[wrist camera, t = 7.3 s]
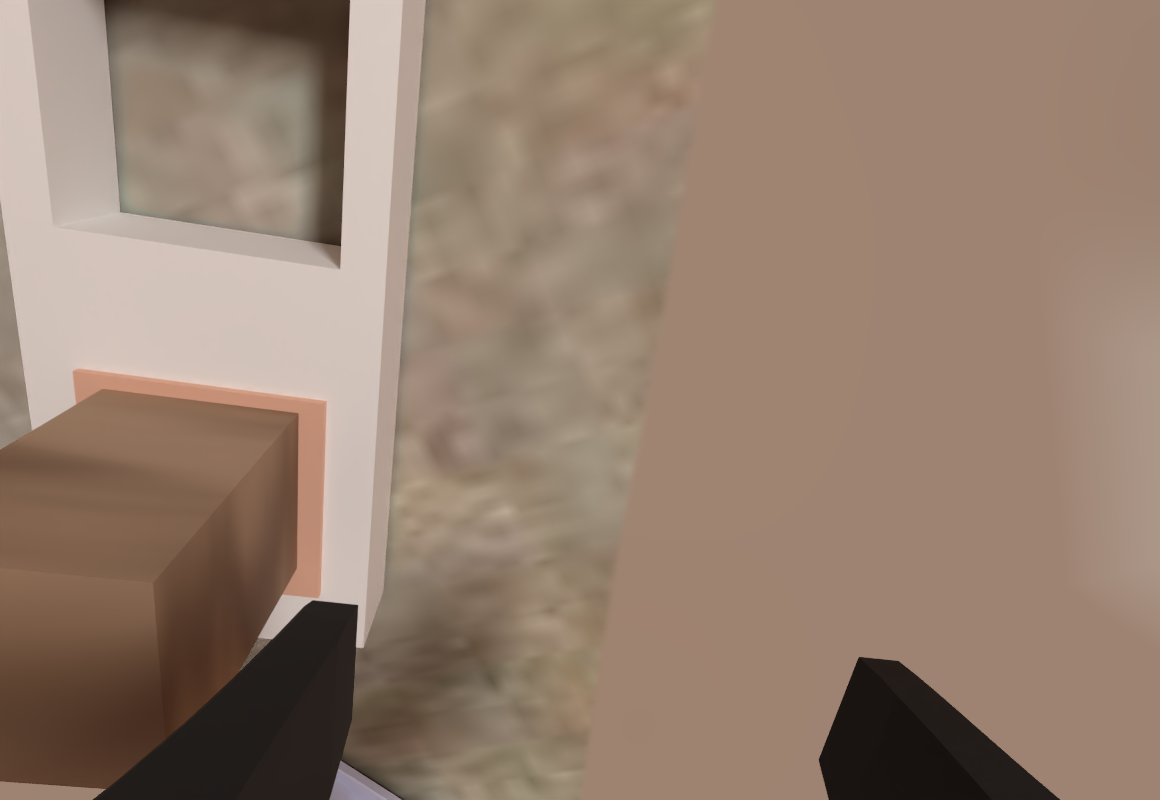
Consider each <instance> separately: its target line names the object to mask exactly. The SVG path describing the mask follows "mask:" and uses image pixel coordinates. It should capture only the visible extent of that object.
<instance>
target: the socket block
mask: <svg viewBox="0 0 1160 800" xmlns="http://www.w3.org/2000/svg"><path fill="white" fill-rule="evenodd" d="M425 3H426V0H350V20H349V47H348V74H347V101H346V128H345V156H344V183H343V210H342V237H341V246H337V245H330V244H324V243H317V242H311V241H304V240H298V239H291V238H284V237H278V236H271V235H265V234H258V233H252V232H245V231H239V230H232V229H226V228H219V227H213V226H206V225H200V224H193V223H187V222H180V221H174V220H167V219H161V218H154V217H147V216H141V215H134V214H128V213H121V212H120V202H119V189H118V176H117V163H116V150H115V137H114V124H113V111H112V98H111V85H110V72H109V59H108V46H107V33H106V20H105V7H104V0H0V201H1V208H2V215H3V223H4V230H5V237H6V244H7V252H8V259H9V266H10V273H11V281H12V288H13V295H14V302H15V310H16V317H17V324H18V332H19V339H20V346H21V353H22V361H23V368H24V375H25V382H26V390H27V397H28V404H29V411H30V419H31V426H32V431H33V430H34V429H36V428H38V427H39V426H41V425H43V424H44V423H46V422H48V421H49V420H51V419H53V418H54V417H56V416H58V415H59V414H61V413H63V412H64V411H66V410H68V409H69V408H71V407H73V406H74V405H76V404H78V403H79V402H81V401H83V400H84V399H86V398H88V397H89V396H91V395H93V394H94V393H96V392H98V391H99V390H101V389H108V390H116V391H124V392H132V393H140V394H148V395H156V396H164V397H173V398H181V399H189V400H197V401H205V402H213V403H221V404H229V405H237V406H245V407H253V408H261V409H269V410H277V411H285V412H293V413H299V425H298V526H297V569H296V571H295V573H294V574H293V576H292V578H291V580H290V582H289V583H288V585H287V587H286V589H285V590H284V592H283V594H282V596H281V598H280V599H279V601H278V603H277V605H276V606H275V608H274V610H273V612H272V613H271V615H270V617H269V619H268V621H267V622H266V624H265V626H264V628H263V629H262V631H261V633H260V635H259V637H258V638H265V639H273V638H274V637H275V636H276V635H277V634H278V633H279V632H280V631H281V630H282V629H283V628H284V627H285V626H286V625H287V624H288V623H289V622H290V621H291V619H292V618H293V617H294V616H295V615H296V614H297V613H298V612H299V611H300V610H301V609H302V608H303V607H304V606H305V605H307V604H308V603H310V602H311V601H312V600H315V601H325V602H335V603H344V604H354V605H358V620H357V637H356V647H357V648H364V645H365V642H366V639H367V636H368V633H369V631H370V628H371V625H372V622H373V619H374V616H375V614H376V611H377V608H378V605H379V602H380V599H381V597H382V594H383V588H384V574H385V560H386V546H387V532H388V519H389V505H390V491H391V477H392V463H393V449H394V435H395V421H396V407H397V393H398V379H399V365H400V351H401V337H402V323H403V309H404V295H405V281H406V267H407V254H408V240H409V226H410V212H411V198H412V184H413V170H414V156H415V142H416V128H417V114H418V100H419V86H420V72H421V58H422V44H423V30H424V16H425Z"/></svg>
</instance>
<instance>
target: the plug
mask: <svg viewBox="0 0 1160 800" xmlns="http://www.w3.org/2000/svg"><path fill="white" fill-rule="evenodd" d="M298 425H299V413H293V412H285V411H277V410H269V409H261V408H253V407H245V406H237V405H229V404H221V403H213V402H205V401H197V400H189V399H181V398H173V397H164V396H156V395H148V394H140V393H132V392H124V391H116V390H108V389H101V390H99V391H98V392H96V393H94V394H93V395H91V396H89V397H88V398H86V399H84V400H83V401H81V402H79V403H78V404H76V405H74V406H73V407H71V408H69V409H68V410H66V411H64V412H63V413H61V414H59V415H58V416H56V417H54V418H53V419H51V420H49V421H48V422H46V423H44V424H43V425H41V426H39V427H38V428H36V429H34V430H33V431H31V432H29V433H28V434H26V435H24V436H23V437H21V438H19V439H18V440H16V441H14V442H13V443H11V444H9V445H8V446H6V447H4V448H3V449H1V450H0V781H6V782H18V783H32V784H33V783H34V784H46V785H47V784H48V785H60V786H74V787H88V788H102V789H107V788H108V787H109V786H111V785H112V784H113V783H114V782H116V781H117V780H118V779H119V778H121V777H122V776H123V775H124V774H125V773H126V772H128V771H129V770H130V769H131V768H132V767H133V766H135V765H136V764H137V763H138V762H139V761H141V760H142V759H143V758H144V757H145V756H146V755H148V754H149V753H150V752H151V751H152V750H153V749H155V748H156V747H157V746H158V745H159V744H160V743H162V742H163V741H164V740H165V739H166V738H168V737H169V736H170V735H171V734H172V733H173V732H175V731H176V730H177V729H178V728H179V727H180V726H182V725H183V724H184V723H185V722H186V721H187V720H188V719H189V718H190V717H192V716H193V715H194V714H195V713H196V712H197V711H198V710H199V709H200V708H201V707H202V706H203V705H205V704H206V703H207V702H208V701H209V700H210V699H211V698H212V697H213V696H214V695H215V694H216V693H217V692H218V691H220V690H221V689H222V688H223V687H224V686H225V685H226V684H227V683H228V682H229V681H230V680H231V679H232V678H233V677H235V676H236V675H237V674H238V672H239V670H240V668H241V667H242V665H243V663H244V661H245V660H246V658H247V656H248V654H249V652H250V651H251V649H252V647H253V645H254V644H255V642H256V640H257V638H258V637H259V635H260V633H261V631H262V629H263V628H264V626H265V624H266V622H267V621H268V619H269V617H270V615H271V613H272V612H273V610H274V608H275V606H276V605H277V603H278V601H279V599H280V598H281V596H282V594H283V592H284V590H285V589H286V587H287V585H288V583H289V582H290V580H291V578H292V576H293V574H294V573H295V571H296V569H297V526H298Z"/></svg>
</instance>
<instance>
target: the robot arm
mask: <svg viewBox="0 0 1160 800" xmlns="http://www.w3.org/2000/svg"><path fill="white" fill-rule="evenodd" d="M357 620H358V605H354V604H344V603H335V602H325V601H315V600H312V601H311V602H310V603H308V604H307V605H305V606H304V607H303V608H302V609H301V610H300V611H299V612H298V613H297V614H296V615H295V616H294V617H293V618H292V619H291V621H290V622H289V623H288V624H287V625H286V626H285V627H284V628H283V629H282V630H281V631H280V632H279V633H278V634H277V635H276V636H275V637H274V638H273V639H272V640H271V641H270V642H269V643H268V644H267V645H266V646H265V647H264V648H263V649H262V650H261V651H260V652H259V653H258V654H257V655H256V656H255V657H254V658H253V659H252V660H251V661H250V662H249V663H248V664H247V665H246V666H245V667H244V668H243V669H242V670H241V671H240V672H239V673H238V674H237V675H236V676H235V677H233V678H232V679H231V680H230V681H229V682H228V683H227V684H226V685H225V686H224V687H223V688H222V689H221V690H220V691H218V692H217V693H216V694H215V695H214V696H213V697H212V698H211V699H210V700H209V701H208V702H207V703H206V704H205V705H203V706H202V707H201V708H200V709H199V710H198V711H197V712H196V713H195V714H194V715H193V716H192V717H190V718H189V719H188V720H187V721H186V722H185V723H184V724H183V725H182V726H180V727H179V728H178V729H177V730H176V731H175V732H173V733H172V734H171V735H170V736H169V737H168V738H166V739H165V740H164V741H163V742H162V743H160V744H159V745H158V746H157V747H156V748H155V749H153V750H152V751H151V752H150V753H149V754H148V755H146V756H145V757H144V758H143V759H142V760H141V761H139V762H138V763H137V764H136V765H135V766H133V767H132V768H131V769H130V770H129V771H128V772H126V773H125V774H124V775H123V776H122V777H121V778H119V779H118V780H117V781H116V782H114V783H113V784H112V785H111V786H109V787H108V788H107V789H106V790H104V791H103V792H102V793H101V794H99V795H98V796H97V797H96V798H94V799H93V800H402V799H400V798H398V797H397V796H395V795H394V794H392V793H391V792H389V791H387V790H386V789H384V788H383V787H381V786H380V785H378V784H377V783H375V782H373V781H372V780H370V779H369V778H367V777H366V776H364V775H362V774H361V773H359V772H358V771H356V770H355V769H353V768H351V767H350V766H348V765H347V764H345V763H344V762H342V761H341V757H342V754H343V750H344V746H345V742H346V739H347V735H348V731H349V728H350V724H351V720H352V708H353V691H354V673H355V655H356V637H357ZM819 763H820V767H821V771H822V775H823V778H824V782H825V786H826V790H827V794H828V798H829V800H1060V799H1059V798H1057V797H1056V796H1055V795H1054V794H1053V793H1051V792H1050V791H1049V790H1048V789H1047V788H1046V787H1045V786H1043V785H1042V784H1041V783H1040V782H1039V781H1038V780H1036V779H1035V778H1034V777H1033V776H1032V775H1030V774H1029V773H1028V772H1027V771H1026V770H1025V769H1024V768H1022V767H1021V766H1020V765H1019V764H1018V763H1016V761H1014V760H1013V759H1012V758H1011V757H1010V756H1009V755H1008V754H1006V753H1005V752H1004V751H1003V750H1002V749H1001V748H1000V747H998V746H997V745H996V744H995V743H994V742H992V740H990V739H989V738H988V737H987V736H986V735H985V734H984V733H982V732H981V731H980V730H979V729H978V728H977V727H976V726H974V725H973V724H972V723H971V722H970V721H969V720H968V719H967V718H965V717H964V716H963V715H962V714H961V713H960V712H959V711H957V710H956V709H955V708H954V707H953V706H952V705H950V704H949V703H948V702H947V701H946V700H945V699H944V698H942V697H941V696H940V695H939V694H938V693H937V692H935V691H934V690H933V689H932V688H931V687H929V685H927V684H926V683H925V682H924V681H923V680H921V679H920V678H919V677H918V676H917V675H915V674H914V673H913V672H911V671H910V670H909V669H908V668H906V667H905V666H904V665H903V664H901V663H900V662H899V661H892V660H883V659H873V658H864V657H859V658H858V661H857V663H856V666H855V668H854V671H853V673H852V676H851V679H850V681H849V684H848V686H847V689H846V691H845V694H844V697H843V699H842V702H841V704H840V707H839V709H838V712H837V714H836V717H835V720H834V722H833V725H832V727H831V730H830V732H829V735H828V737H827V740H826V742H825V745H824V748H823V750H822V753H821V755H820V758H819Z"/></svg>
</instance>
